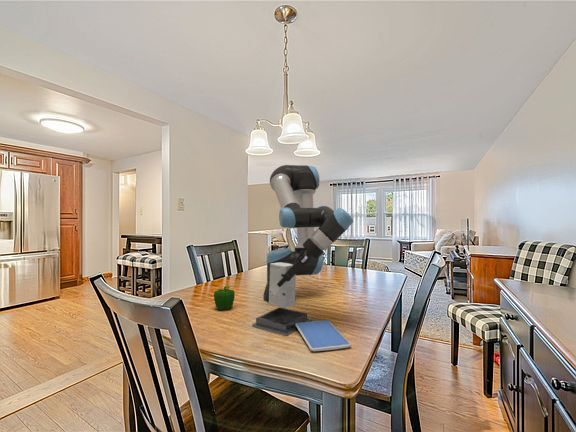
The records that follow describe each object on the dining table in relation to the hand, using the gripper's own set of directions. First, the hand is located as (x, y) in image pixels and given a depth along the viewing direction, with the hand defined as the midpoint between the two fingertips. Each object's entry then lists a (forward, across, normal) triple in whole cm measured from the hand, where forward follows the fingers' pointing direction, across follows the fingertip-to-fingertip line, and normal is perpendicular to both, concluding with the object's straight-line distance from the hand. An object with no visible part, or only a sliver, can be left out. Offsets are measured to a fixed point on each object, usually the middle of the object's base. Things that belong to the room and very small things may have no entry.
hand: (273, 288), depth 106 cm
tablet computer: (-3, -11, -21) cm, 24 cm away
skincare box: (+2, 0, -6) cm, 7 cm away
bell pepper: (+26, +17, +7) cm, 32 cm away
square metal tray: (+7, +1, -11) cm, 13 cm away
